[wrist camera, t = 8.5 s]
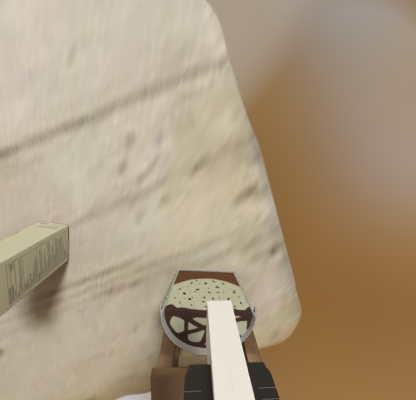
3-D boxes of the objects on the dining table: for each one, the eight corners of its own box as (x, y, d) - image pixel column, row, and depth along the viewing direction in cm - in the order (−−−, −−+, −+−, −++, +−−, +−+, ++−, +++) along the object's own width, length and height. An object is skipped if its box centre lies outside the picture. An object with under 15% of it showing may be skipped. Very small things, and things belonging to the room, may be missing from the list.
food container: (167, 300, 34) (155, 357, 25) (169, 268, 33) (156, 314, 23) (239, 303, 35) (254, 360, 25) (243, 271, 34) (260, 318, 24)
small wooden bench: (169, 337, 36) (153, 436, 23) (168, 295, 34) (150, 377, 21) (241, 336, 37) (264, 432, 24) (244, 295, 35) (270, 374, 22)
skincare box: (39, 220, 31) (-63, 261, 19) (69, 224, 31) (-13, 266, 19) (41, 259, 32) (-54, 320, 20) (69, 262, 32) (-8, 324, 20)
